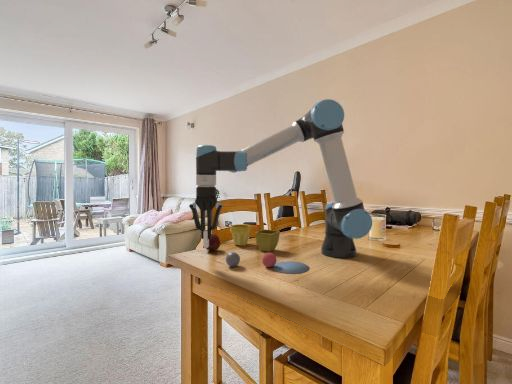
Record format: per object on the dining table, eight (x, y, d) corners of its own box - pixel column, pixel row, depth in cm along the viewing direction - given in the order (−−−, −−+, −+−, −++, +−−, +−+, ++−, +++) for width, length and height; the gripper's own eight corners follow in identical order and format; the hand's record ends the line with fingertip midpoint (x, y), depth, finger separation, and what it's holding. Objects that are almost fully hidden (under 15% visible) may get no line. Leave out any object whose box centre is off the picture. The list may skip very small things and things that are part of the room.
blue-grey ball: (240, 264, 105) (240, 250, 105) (239, 268, 100) (239, 254, 99) (227, 264, 105) (227, 250, 105) (224, 268, 100) (224, 254, 100)
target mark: (306, 261, 108) (306, 261, 108) (311, 274, 94) (311, 273, 94) (271, 261, 109) (271, 260, 109) (271, 273, 95) (271, 272, 95)
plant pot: (232, 241, 143) (232, 223, 143) (251, 242, 142) (251, 224, 142) (228, 246, 133) (228, 227, 133) (249, 247, 132) (249, 227, 131)
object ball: (276, 264, 104) (276, 250, 104) (276, 269, 99) (276, 254, 99) (262, 264, 105) (262, 250, 104) (261, 269, 99) (261, 254, 99)
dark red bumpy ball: (223, 249, 128) (222, 232, 128) (216, 253, 121) (216, 236, 120) (208, 248, 130) (208, 232, 130) (201, 252, 123) (201, 235, 122)
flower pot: (280, 249, 127) (280, 230, 127) (271, 253, 120) (271, 234, 119) (264, 247, 132) (264, 229, 131) (254, 251, 124) (254, 232, 124)
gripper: (186, 186, 98) (186, 249, 99) (221, 186, 98) (221, 250, 99) (192, 185, 106) (192, 244, 107) (224, 186, 105) (224, 245, 106)
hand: (206, 247), depth 103 cm, fingers closed
